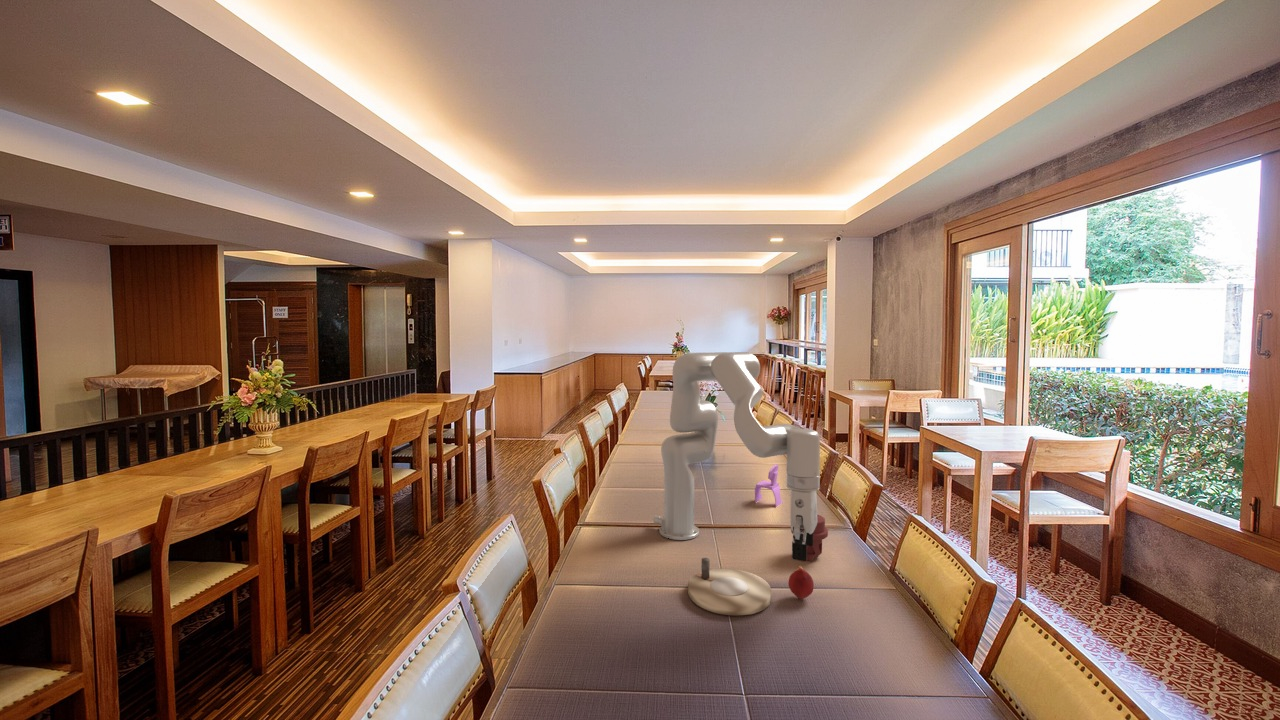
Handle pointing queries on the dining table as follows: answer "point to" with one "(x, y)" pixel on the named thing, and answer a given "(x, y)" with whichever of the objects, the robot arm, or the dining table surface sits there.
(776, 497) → the toy chair
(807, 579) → the onion
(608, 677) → the dining table surface
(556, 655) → the dining table surface
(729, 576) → the turntable
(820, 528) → the mechanical component
